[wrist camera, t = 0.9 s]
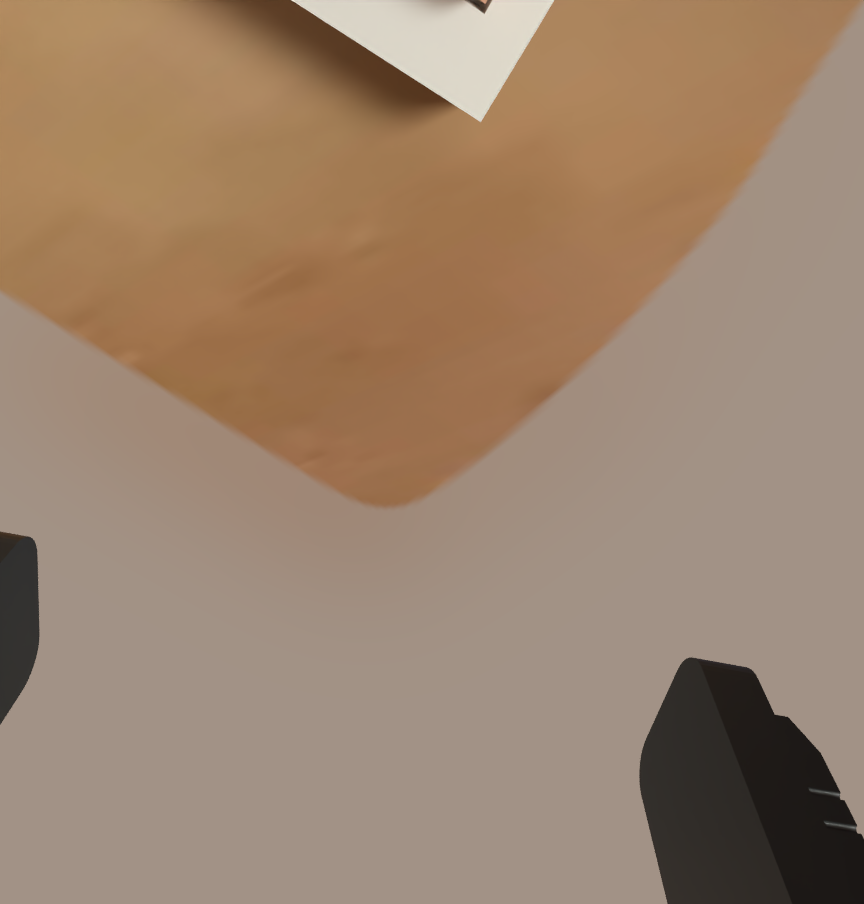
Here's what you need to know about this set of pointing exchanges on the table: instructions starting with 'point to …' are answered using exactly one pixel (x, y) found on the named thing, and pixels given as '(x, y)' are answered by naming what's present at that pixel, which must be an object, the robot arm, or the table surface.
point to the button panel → (442, 40)
